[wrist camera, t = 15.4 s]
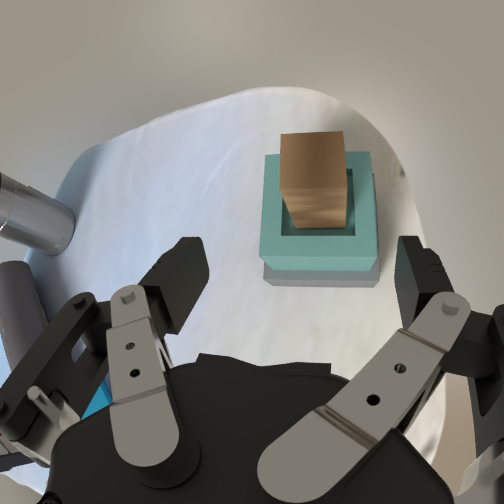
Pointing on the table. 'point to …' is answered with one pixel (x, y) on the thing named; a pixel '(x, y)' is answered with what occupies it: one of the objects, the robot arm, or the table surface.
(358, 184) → the tower base
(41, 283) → the table surface
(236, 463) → the robot arm
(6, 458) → the color panel box
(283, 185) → the walnut brick
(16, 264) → the bluetooth speaker
